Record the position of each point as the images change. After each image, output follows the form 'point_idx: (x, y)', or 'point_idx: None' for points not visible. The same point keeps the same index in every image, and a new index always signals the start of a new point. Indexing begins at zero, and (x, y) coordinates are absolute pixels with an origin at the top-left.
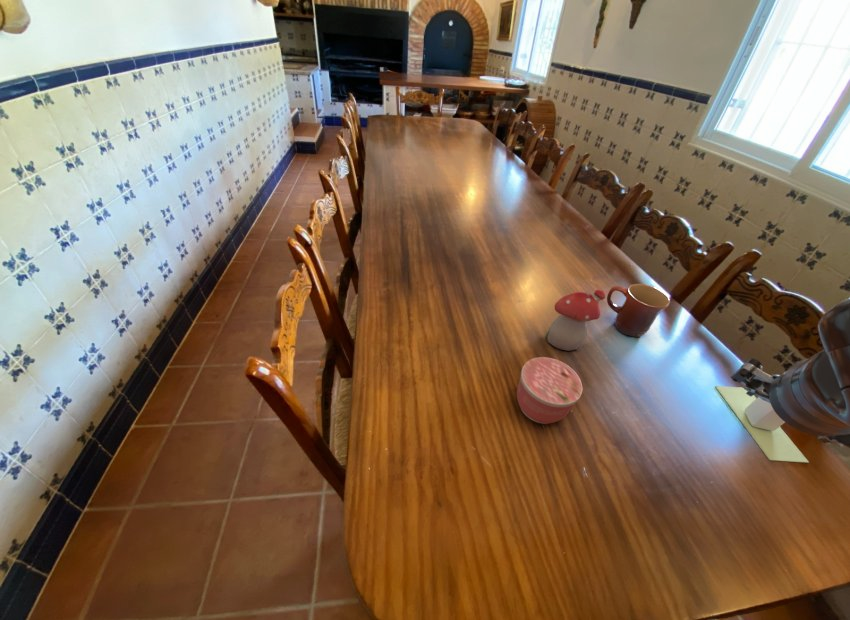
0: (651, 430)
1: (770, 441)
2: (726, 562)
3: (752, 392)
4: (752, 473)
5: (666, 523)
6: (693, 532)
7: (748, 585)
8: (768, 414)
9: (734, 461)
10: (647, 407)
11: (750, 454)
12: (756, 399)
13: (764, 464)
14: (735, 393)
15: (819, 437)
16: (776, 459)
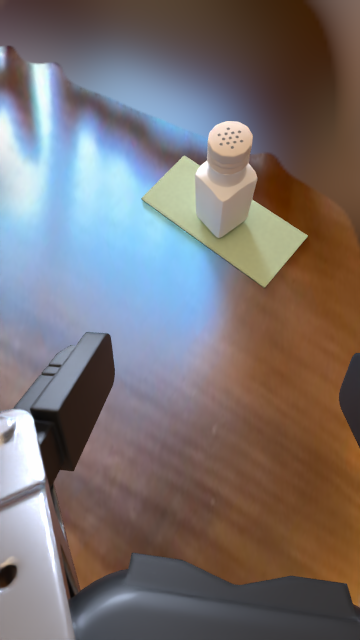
0: None
1: (251, 245)
2: None
3: (64, 466)
4: (255, 342)
5: None
6: (233, 581)
7: None
8: (223, 213)
9: (225, 343)
10: None
11: (238, 302)
12: (195, 191)
13: (262, 303)
14: (173, 186)
15: (346, 410)
16: (271, 276)
